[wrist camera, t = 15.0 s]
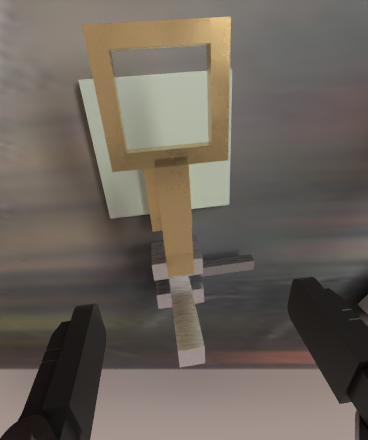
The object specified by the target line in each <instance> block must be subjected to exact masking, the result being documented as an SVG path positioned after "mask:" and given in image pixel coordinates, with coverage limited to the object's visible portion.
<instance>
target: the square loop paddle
mask: <svg viewBox="0 0 368 440" xmlns="http://www.w3.org/2000/svg"><path fill="white" fill-rule="evenodd" d="M82 28H83V33H84V38H85V43H86V47H87V52H88V57H89V62H90V67H91V72H92V76H93V81H94V86H95V91H96V96H97V101H98V105H99V110H100V115H101V120H102V125H103V130H104V134H105V139H106V144H107V149H108V154H109V159H110V163H111V168H112V172H120V171H130V170H139V169H144V176H145V183H146V190H147V196H148V203H149V210H150V217H151V224H152V231H153V232H154V231H162V230H163V238H164V247H165V255H166V263H167V271H168V277H174V276H181V275H188V274H194V259H193V242H192V210H191V192H190V175H189V164H197V163H207V162H216V161H226V160H228V148H229V91H230V34H231V17H215V18H196V19H178V20H160V21H142V22H124V23H105V24H87V25H82ZM206 45H207V96H208V142H201V143H191V144H180V145H170V146H160V147H149V148H139V149H129V150H128V149H127V143H126V138H125V132H124V126H123V120H122V114H121V108H120V102H119V96H118V90H117V85H116V79H115V73H114V67H113V61H112V55H111V52H112V51H128V50H144V49H159V48H175V47H190V46H206Z"/></svg>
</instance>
